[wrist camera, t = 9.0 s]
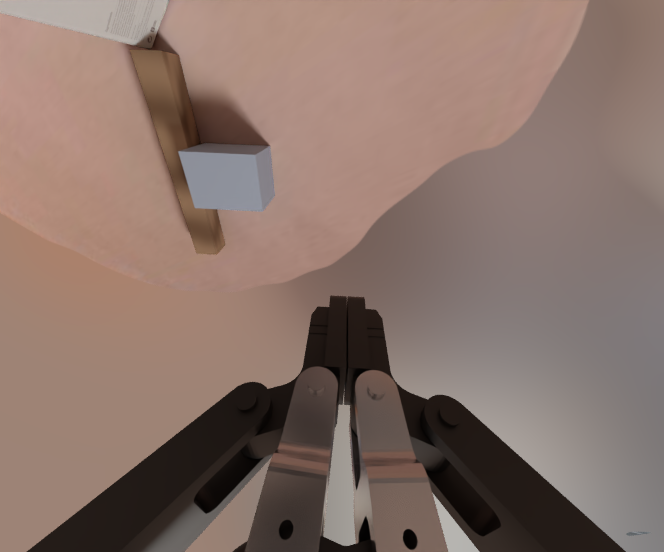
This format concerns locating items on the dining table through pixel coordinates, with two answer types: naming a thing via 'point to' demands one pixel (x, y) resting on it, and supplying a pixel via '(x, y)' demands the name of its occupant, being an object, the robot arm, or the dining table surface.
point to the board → (176, 137)
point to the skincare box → (96, 17)
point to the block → (229, 176)
